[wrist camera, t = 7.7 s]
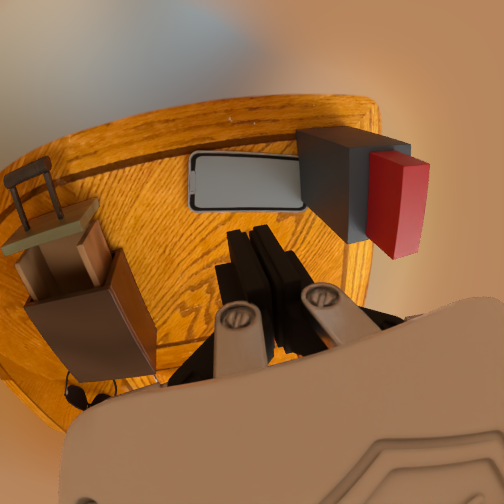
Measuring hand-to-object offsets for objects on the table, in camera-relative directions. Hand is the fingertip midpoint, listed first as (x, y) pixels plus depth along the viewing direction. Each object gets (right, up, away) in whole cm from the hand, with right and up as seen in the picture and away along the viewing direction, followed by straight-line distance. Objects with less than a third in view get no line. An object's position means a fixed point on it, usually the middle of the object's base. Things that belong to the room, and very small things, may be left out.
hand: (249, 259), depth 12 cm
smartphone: (0, +9, +22) cm, 23 cm away
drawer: (-22, +2, +18) cm, 29 cm away
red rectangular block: (+12, +6, +12) cm, 17 cm away
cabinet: (-21, -7, +24) cm, 33 cm away
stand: (+9, +11, +22) cm, 26 cm away
